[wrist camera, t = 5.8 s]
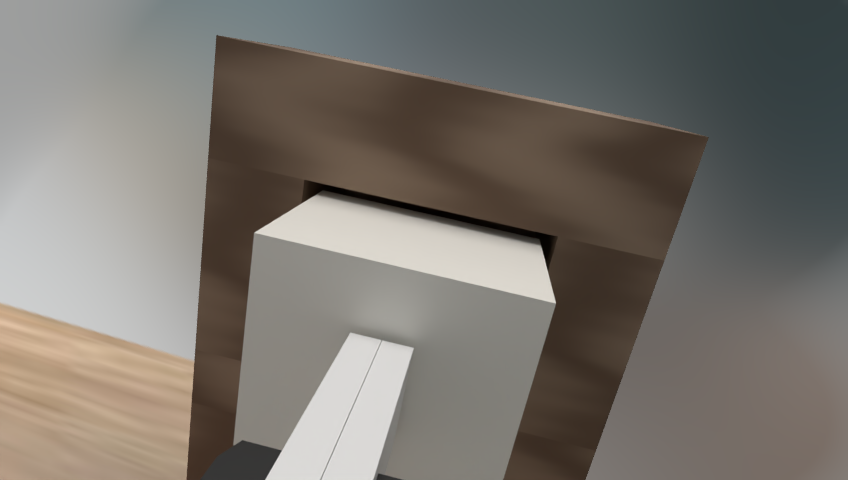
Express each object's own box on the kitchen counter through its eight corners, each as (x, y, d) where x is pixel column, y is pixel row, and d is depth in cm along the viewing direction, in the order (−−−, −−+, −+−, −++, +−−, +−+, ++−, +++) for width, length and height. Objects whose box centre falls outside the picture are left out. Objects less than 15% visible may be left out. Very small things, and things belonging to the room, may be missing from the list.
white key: (494, 401, 18) (539, 239, 16) (492, 514, 13) (556, 303, 12) (300, 353, 19) (322, 190, 17) (233, 445, 14) (254, 232, 12)
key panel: (498, 586, 27) (648, 121, 20) (498, 720, 22) (708, 136, 14) (241, 516, 28) (293, 48, 21) (176, 626, 22) (216, 35, 15)
